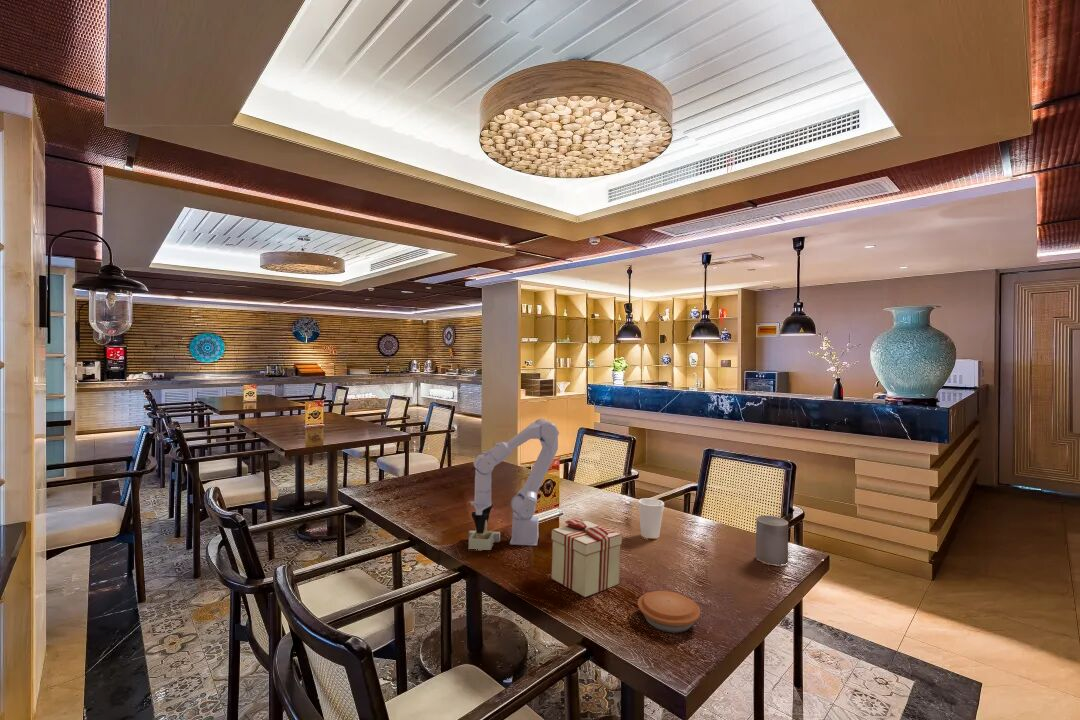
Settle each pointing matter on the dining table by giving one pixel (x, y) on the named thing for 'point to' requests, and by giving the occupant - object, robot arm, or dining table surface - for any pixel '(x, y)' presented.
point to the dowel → (484, 535)
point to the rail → (496, 535)
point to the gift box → (585, 557)
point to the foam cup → (650, 516)
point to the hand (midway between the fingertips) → (482, 529)
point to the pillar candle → (772, 539)
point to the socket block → (481, 541)
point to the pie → (668, 610)
